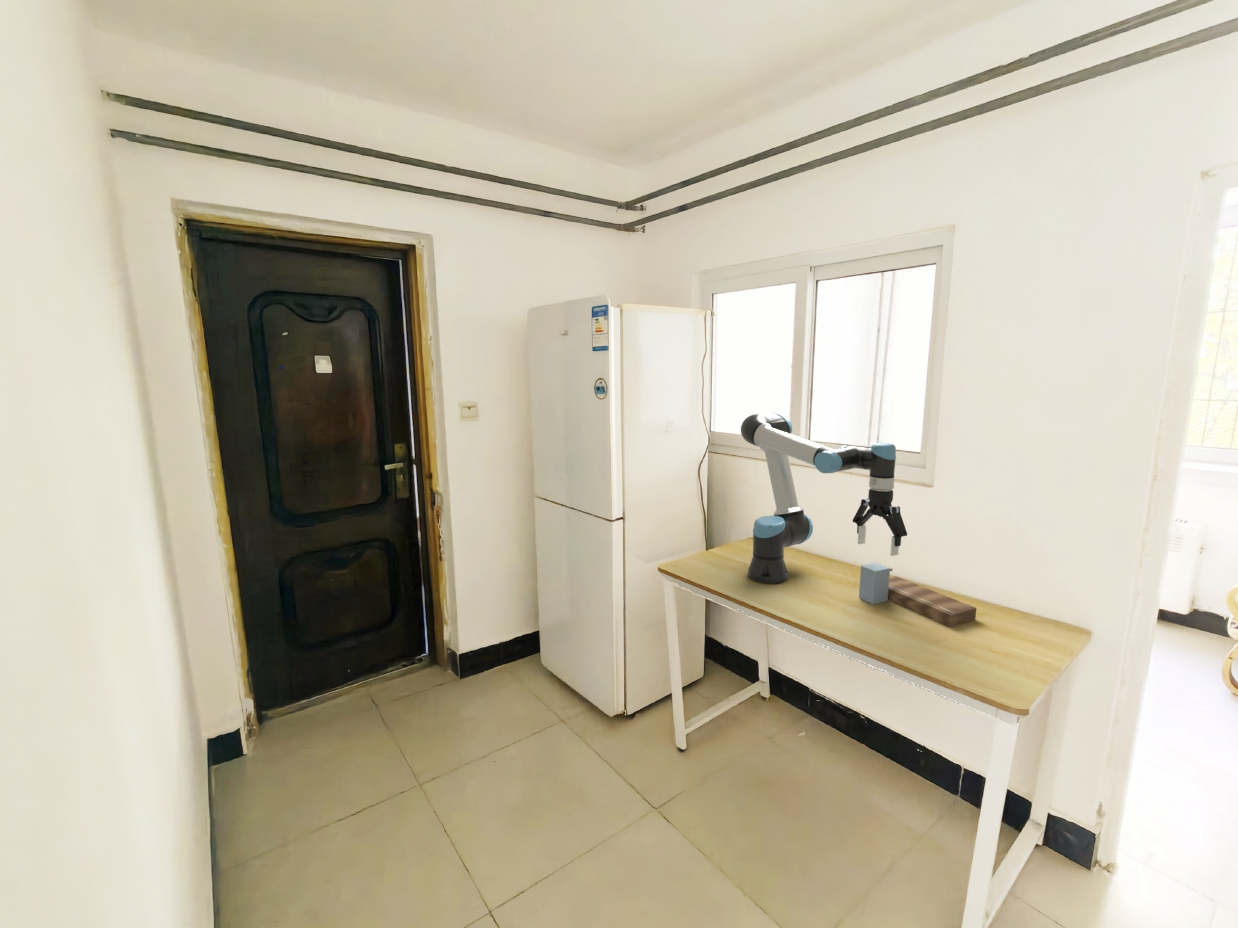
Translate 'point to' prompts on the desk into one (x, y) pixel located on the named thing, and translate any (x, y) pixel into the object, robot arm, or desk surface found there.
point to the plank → (929, 602)
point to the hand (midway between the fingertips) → (877, 549)
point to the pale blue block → (874, 583)
